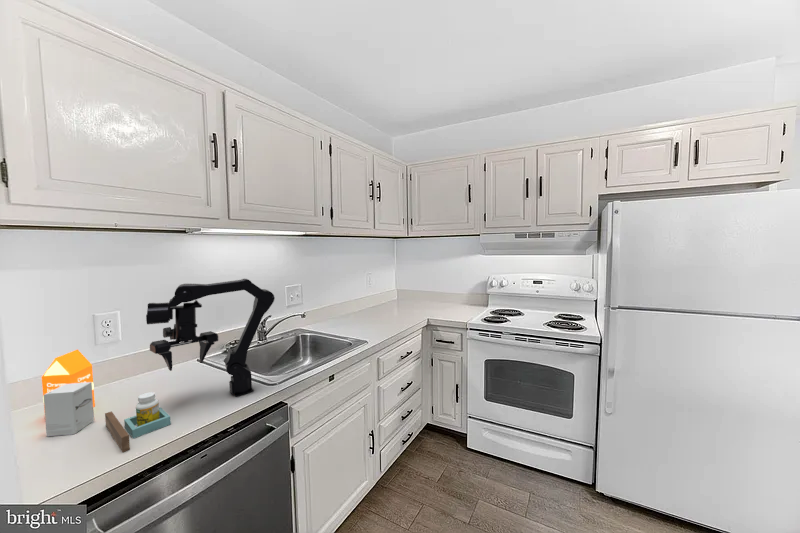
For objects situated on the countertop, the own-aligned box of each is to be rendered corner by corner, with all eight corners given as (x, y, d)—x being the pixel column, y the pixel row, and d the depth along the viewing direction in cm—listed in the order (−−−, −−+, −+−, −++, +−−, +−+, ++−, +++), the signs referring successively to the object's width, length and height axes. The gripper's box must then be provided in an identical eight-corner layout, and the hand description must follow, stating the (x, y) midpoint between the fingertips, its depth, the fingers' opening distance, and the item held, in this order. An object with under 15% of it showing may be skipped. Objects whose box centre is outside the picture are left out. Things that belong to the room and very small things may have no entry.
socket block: (161, 414, 102) (160, 407, 102) (170, 424, 96) (170, 416, 96) (124, 427, 95) (124, 419, 95) (132, 438, 89) (132, 430, 89)
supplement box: (75, 434, 91) (72, 392, 91) (45, 437, 90) (41, 394, 89) (95, 420, 99) (92, 381, 98) (67, 422, 97) (64, 383, 97)
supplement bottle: (164, 421, 98) (162, 391, 98) (149, 431, 93) (147, 399, 92) (147, 420, 99) (145, 390, 98) (132, 430, 93) (130, 399, 93)
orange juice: (44, 422, 98) (39, 359, 96) (69, 408, 106) (64, 349, 105) (73, 420, 99) (69, 357, 98) (95, 406, 108) (91, 348, 106)
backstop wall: (112, 423, 97) (111, 411, 96) (129, 449, 84) (128, 435, 84) (105, 426, 96) (105, 413, 95) (122, 452, 83) (121, 437, 83)
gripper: (204, 313, 119) (205, 354, 120) (143, 322, 104) (144, 368, 105) (218, 318, 113) (219, 361, 114) (155, 327, 98) (156, 377, 99)
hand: (186, 366), depth 108 cm, fingers open, 9 cm apart
